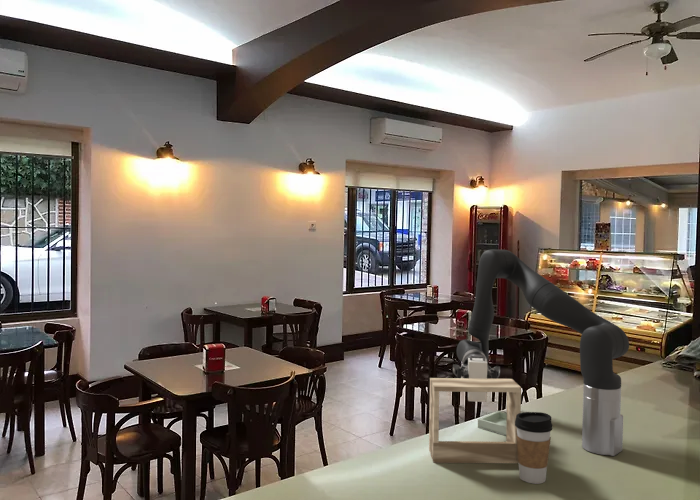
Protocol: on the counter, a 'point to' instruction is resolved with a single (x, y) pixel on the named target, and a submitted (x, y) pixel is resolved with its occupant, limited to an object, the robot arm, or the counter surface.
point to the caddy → (477, 376)
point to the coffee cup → (533, 445)
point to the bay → (474, 449)
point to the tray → (494, 422)
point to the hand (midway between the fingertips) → (478, 378)
